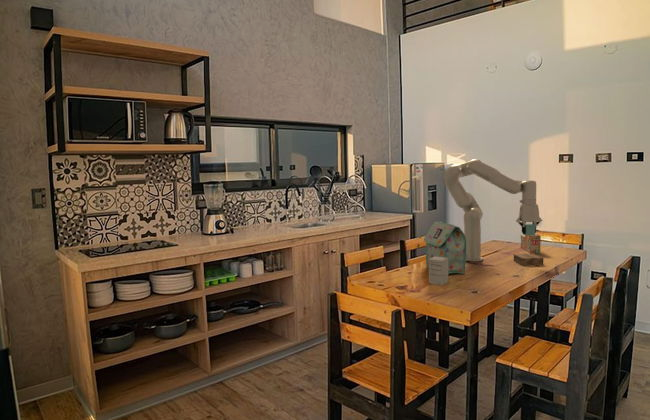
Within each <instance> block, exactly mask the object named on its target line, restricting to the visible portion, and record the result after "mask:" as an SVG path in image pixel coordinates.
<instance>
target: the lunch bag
mask: <svg viewBox="0 0 650 420" xmlns="http://www.w3.org/2000/svg"><path fill="white" fill-rule="evenodd" d="M423 242H425V243H426V245H425V246H426V249H425V267H426V268H428V269H429V259H430V258H433V257H444V258H448V275H450V274H466V263H467V261H466V247H467V246H466V245H467V242H466V237H465V234H464V230H462V229H461V227H459V226H458V225H457V226H456V225H455V224H450V223H446V222H443V221H440V220H439V221H434V222H433V223H432V225H431V226H430V227H429V229H428V230H427V232H426V234H425V235H424V238H423Z"/></svg>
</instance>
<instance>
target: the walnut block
mask: <svg viewBox="0 0 650 420" xmlns="http://www.w3.org/2000/svg"><path fill="white" fill-rule="evenodd" d="M513 262H515V263H516V264H519V265H521V266H543V265H544V257H542V256H540V255H539V254H529V253H523V254H522V253H520V254H519V253H518V254H513Z"/></svg>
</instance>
